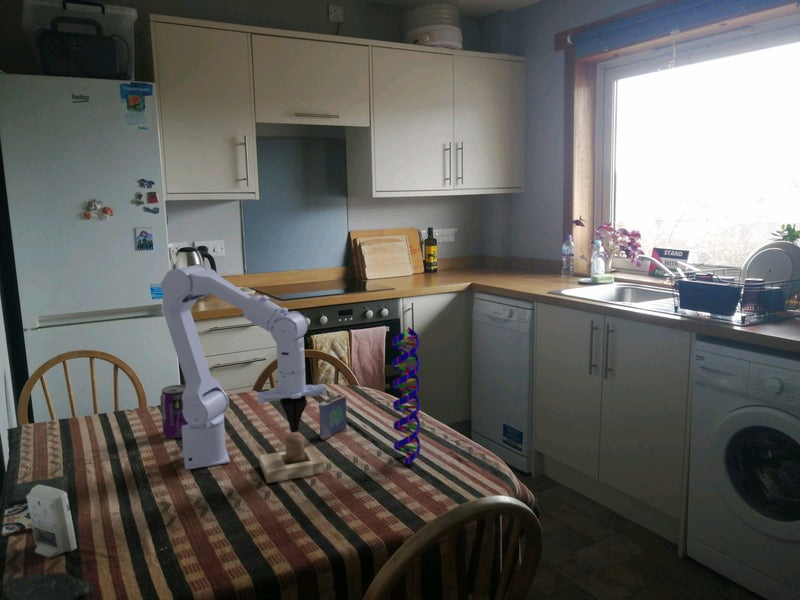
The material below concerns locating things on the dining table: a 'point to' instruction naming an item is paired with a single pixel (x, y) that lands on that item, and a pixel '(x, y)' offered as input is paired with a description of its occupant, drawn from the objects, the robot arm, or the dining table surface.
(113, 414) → the dining table surface
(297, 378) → the robot arm
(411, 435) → the dna model
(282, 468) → the board
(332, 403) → the flask
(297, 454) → the peg
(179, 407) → the beverage can
